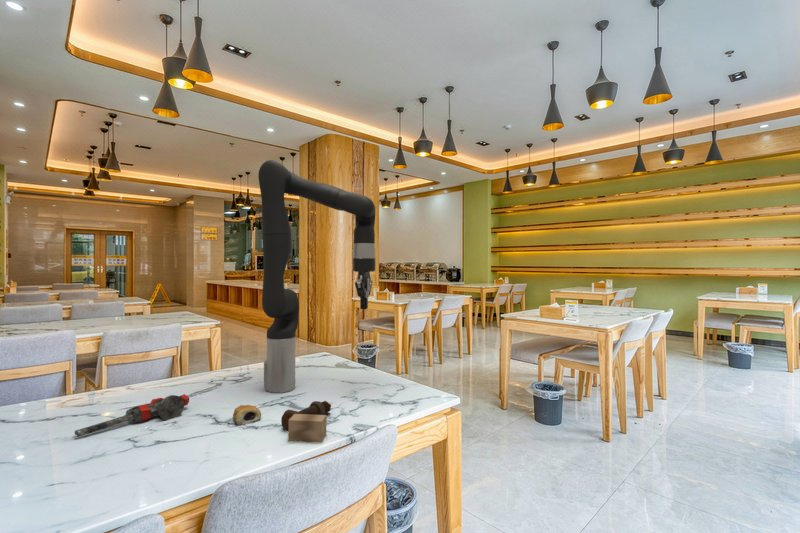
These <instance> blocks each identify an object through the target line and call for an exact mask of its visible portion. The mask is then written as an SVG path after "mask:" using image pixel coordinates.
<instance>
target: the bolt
mask: <svg viewBox="0 0 800 533" xmlns="http://www.w3.org/2000/svg"><path fill="white" fill-rule="evenodd" d="M331 410H332V404H331V403H329V402H328V400H323V401H318V400H317V401H316V400H314V401H312V402H311V403H310V404H309V406H308V407H306V408H303V409H301V410H299V411H297V410H293V409H286V410H285V411H284V412H283V413H282V416H281V420H280V421H281V422H280V423H281V427H282V429H283V430H284V431H285V432H287V431H288V427H289V419H290V418H291V417H292V416H293V415H294V414H310V415H326V414H327V413H329V412H330V411H331Z"/></svg>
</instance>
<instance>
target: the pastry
mask: <svg viewBox="0 0 800 533" xmlns="http://www.w3.org/2000/svg"><path fill="white" fill-rule="evenodd" d="M232 414H233V415H232V417H233V418H234V422H235V423H236V424H237V425H239V426H241V425H242V426H243V425H247V424H251V423H255V422H258V421H260V419H261V417H262V413H261V410H260V409H259V408H258V407H257V406H256V405H251V404H243V405H241V404H240V405H239V406H237V407H235V408H234V410H233V413H232Z"/></svg>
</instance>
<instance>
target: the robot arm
mask: <svg viewBox="0 0 800 533" xmlns="http://www.w3.org/2000/svg"><path fill="white" fill-rule="evenodd" d="M257 176H258V184H259V189H260V190H259V191H260V196H261V198H260V199H261V223H262V224H261V231H262V232H261V238H262V254H263V255H262V258H263V261H262V264H263V276H262V278H263V279H262V290H261V292H262V294H261V306H262V310H263V313H264V314H265V315H266V316H267V317H269V318H271V319H273V322H272V324H271V325H270V326H269V327H268V328H267V330H266V360H264V362H263V391H266V392H269V393H275V394H277V393H287V392H291V391H293V390H295V389H296V333H297V330H298V328H299V327H298V326H299V316H300V314H299V311H300V303H299V302H300V301H299V297H298V295H297V293H296V292H295V290H293V289H291V288H285V277H284V276H285V271H286V268H287V265H288V262H289V259H290V256H291V253H292V250H293V248H292V247H293V246H292V245H293V244H292V243H293V241H292V229H291V225H290V224H291V223H290V220H289V216H288V212H287V210H286V204H285V194H286V195H292V196H297V197H300V198H303V199H307V200H309V201H312V202H315V203H317V204H320V205H323V206H325V207H327V208H330V209H334V210H337V211H341V212H342V211H343V212H346V213H348V214H352V215H354V216H355V218H354V219H355V220H354V221H355V222H354V223H355V224H354V225H355V227H354V230H353V248H352V270H353V272H355V273H356V272H358V274H357V277H356V281H355V283H354V285H355V289H356V293H357V297H359V299H360V302H359V304H360V306H359V307H360V308H359V309H361V310H367V309H368V308H369V298H370V296H371V292H372V287H373V280H372V277H371V273H373V272H375V271H376V246H375V245H376V242H375V241H376V239H375V238H376V237H375V236H376V235H375V234H376V233H375V232H376V231H375V223H376V222H375V221H376V205H375V204H374V202H373V200H372V198H370V197H368V196H366V195H362V194H360V193H355V192H351V191H347V190H344V189H343V188H339V187H336V186H333V185H330V184H327V183H323V182H318V181H312V180H309V179H306V178H303V177H301V176H299V175H297V174H295V173H293V172H291V171H290V170H289V169H287V168H286V166H285V165H283V164H282V163H280V162H279V161H276V160H273V159H269V160H266V161H264V162H263V163H262V164H261V165H260V167H259V169H258V174H257Z"/></svg>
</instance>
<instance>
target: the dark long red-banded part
mask: <svg viewBox="0 0 800 533" xmlns="http://www.w3.org/2000/svg"><path fill="white" fill-rule="evenodd" d="M189 403H190V397H189V396H188V395H187V394H185V393H184V394H182V395H174V394H173V395H171V394H170V395H168V396H166V397H164V398H163V397H158V398H153V399H151V401H150V402H149V403H144V404H141V405H137V406H133V407H131V408H129V409H126V412H125V415H123V416H119V417H116V418H113V419H110V420H106V421H103V422H100V423H96V424H94V425H93V424H92V425H88V426H86V427H83V428H80V429H75V430H74V435H75V436H76V438H78V437H82V436H85V435H88V434H91V433H94V432H95V433H96V432H98V431H101V430H105V429H108V428H111V427H114V426H117V425H119V424H120V425H121V424H122V423H127V422H130V421H132V422H133V423H142V422H146V421H150V419H151V418H153V417H157V416H159V417H160V418H161V419H162V420H165V421H169V420H172V419H173V420H174V419H176V418H179V417H180V416H181V415H182V413H183V411H184V410H185V407H186V406H187V405H188V404H189Z"/></svg>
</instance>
